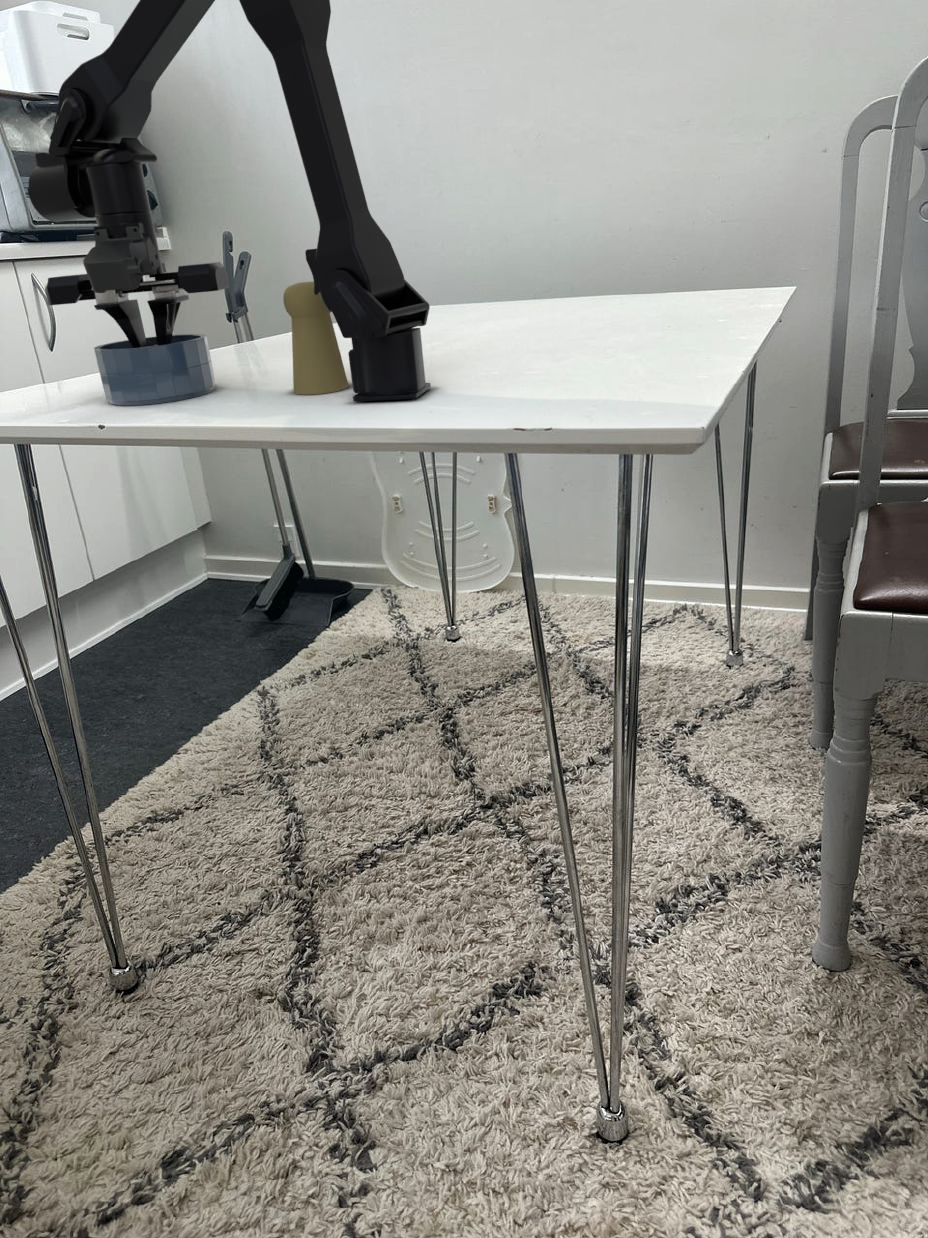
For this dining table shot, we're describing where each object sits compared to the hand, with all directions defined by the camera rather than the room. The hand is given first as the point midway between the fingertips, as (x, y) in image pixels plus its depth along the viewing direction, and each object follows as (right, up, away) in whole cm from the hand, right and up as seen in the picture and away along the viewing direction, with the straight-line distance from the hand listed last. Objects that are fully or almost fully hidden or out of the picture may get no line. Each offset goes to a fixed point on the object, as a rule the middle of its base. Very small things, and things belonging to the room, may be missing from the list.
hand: (155, 364), depth 101 cm
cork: (+20, -4, -4) cm, 20 cm away
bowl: (0, -3, +1) cm, 4 cm away
